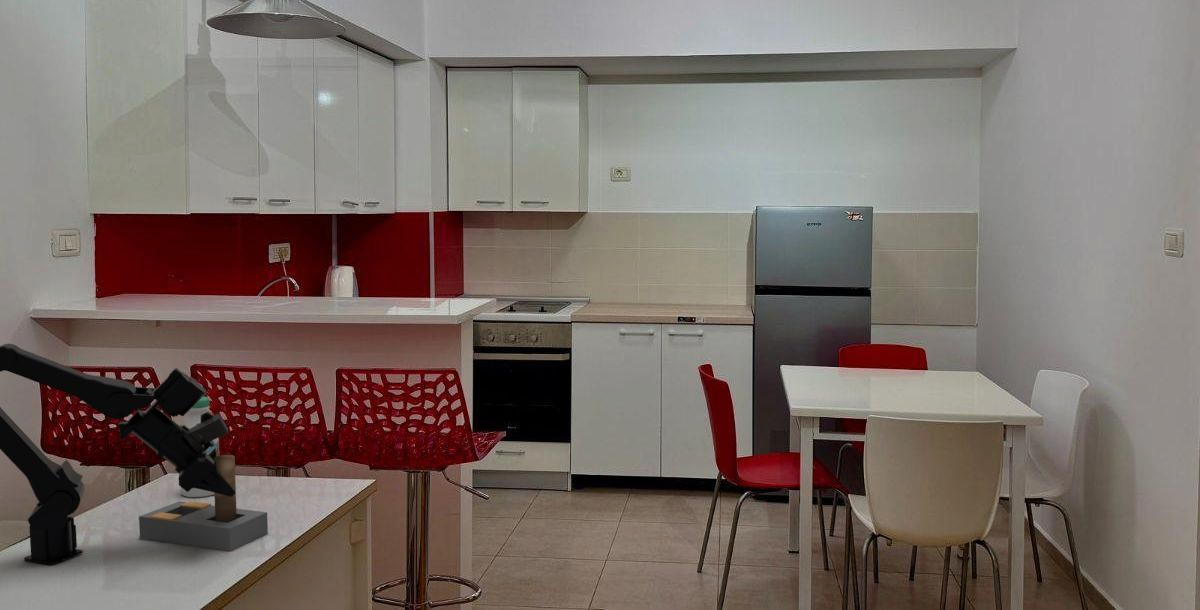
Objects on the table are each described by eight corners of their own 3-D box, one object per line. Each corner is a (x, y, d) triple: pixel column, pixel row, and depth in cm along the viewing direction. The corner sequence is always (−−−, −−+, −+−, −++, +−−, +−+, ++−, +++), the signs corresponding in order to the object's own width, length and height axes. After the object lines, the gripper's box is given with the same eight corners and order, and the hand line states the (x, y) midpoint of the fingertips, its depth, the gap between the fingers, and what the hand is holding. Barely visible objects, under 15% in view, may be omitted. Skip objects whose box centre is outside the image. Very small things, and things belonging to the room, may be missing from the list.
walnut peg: (227, 532, 181) (225, 460, 180) (211, 530, 183) (208, 458, 181) (241, 526, 185) (239, 455, 184) (225, 524, 186) (222, 454, 185)
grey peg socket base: (267, 533, 187) (267, 510, 186) (230, 551, 178) (229, 527, 177) (180, 521, 194) (179, 499, 193) (139, 538, 184) (138, 514, 184)
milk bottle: (188, 500, 208) (185, 403, 206) (175, 492, 213) (171, 397, 211) (226, 493, 213) (223, 398, 211) (212, 485, 218) (209, 393, 216)
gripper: (197, 411, 171) (268, 470, 176) (198, 392, 189) (263, 446, 194) (148, 461, 169) (221, 519, 174) (154, 437, 187) (220, 491, 192)
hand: (233, 491), depth 184 cm, fingers closed on walnut peg, 4 cm apart
